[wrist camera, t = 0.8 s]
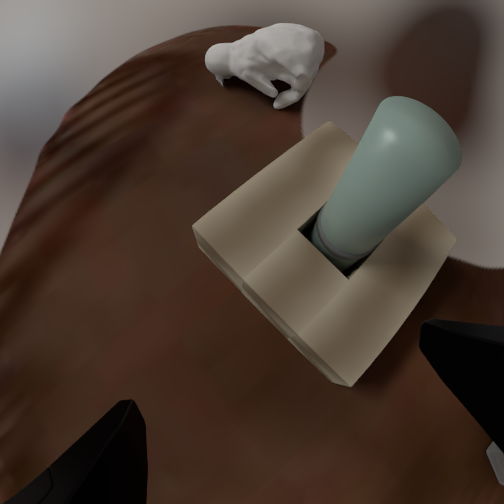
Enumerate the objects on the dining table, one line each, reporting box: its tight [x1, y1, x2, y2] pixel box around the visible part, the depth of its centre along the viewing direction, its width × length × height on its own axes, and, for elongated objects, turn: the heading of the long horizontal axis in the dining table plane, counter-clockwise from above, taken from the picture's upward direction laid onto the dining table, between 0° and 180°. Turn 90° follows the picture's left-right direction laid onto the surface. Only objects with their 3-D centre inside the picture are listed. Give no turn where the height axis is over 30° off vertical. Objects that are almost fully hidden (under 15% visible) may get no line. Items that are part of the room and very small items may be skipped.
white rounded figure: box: [205, 23, 324, 109], centre depth 26 cm, size 6×8×12 cm
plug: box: [307, 96, 462, 273], centre depth 17 cm, size 4×4×14 cm
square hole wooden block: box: [192, 121, 457, 387], centre depth 22 cm, size 14×14×4 cm
